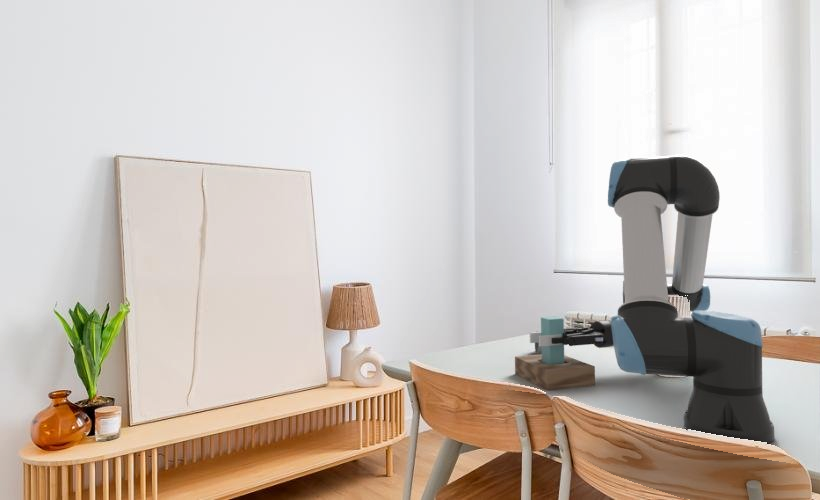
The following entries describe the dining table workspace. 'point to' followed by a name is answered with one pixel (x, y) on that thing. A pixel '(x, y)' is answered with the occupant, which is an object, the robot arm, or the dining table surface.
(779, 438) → the dining table surface
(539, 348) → the gray can
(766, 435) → the robot arm
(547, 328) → the teal peg
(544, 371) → the socket block
